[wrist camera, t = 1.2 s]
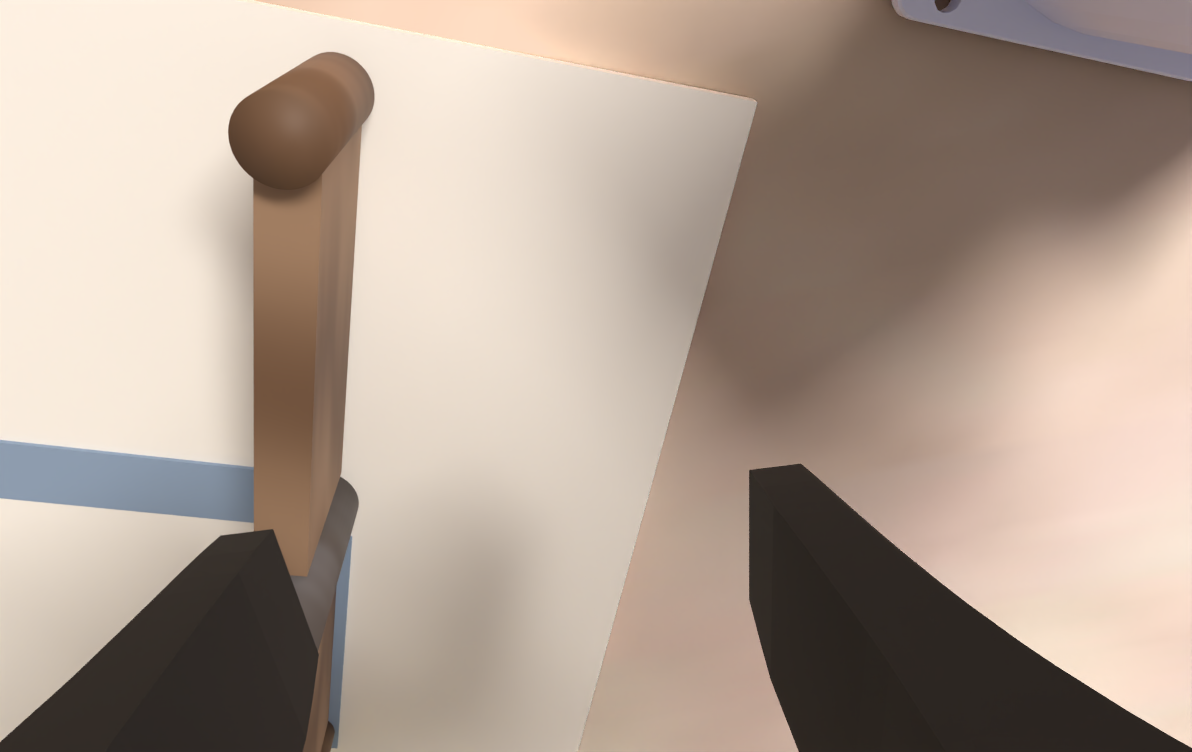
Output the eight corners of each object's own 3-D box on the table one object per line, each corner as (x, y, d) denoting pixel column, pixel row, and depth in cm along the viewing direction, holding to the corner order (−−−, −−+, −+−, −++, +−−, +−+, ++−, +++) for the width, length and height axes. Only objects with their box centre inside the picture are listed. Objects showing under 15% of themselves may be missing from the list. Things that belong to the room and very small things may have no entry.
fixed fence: (283, 466, 19) (217, 616, 15) (361, 475, 20) (317, 623, 15) (278, 742, 24) (226, 915, 20) (341, 745, 24) (303, 916, 20)
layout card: (752, 98, 16) (759, 103, 16) (564, 787, 27) (564, 802, 26) (-409, -130, 13) (-441, -132, 13) (-122, 753, 23) (-135, 769, 23)
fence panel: (350, 473, 19) (311, 595, 16) (288, 467, 19) (235, 588, 15) (376, 59, 15) (333, 100, 11) (297, 45, 15) (227, 81, 11)
